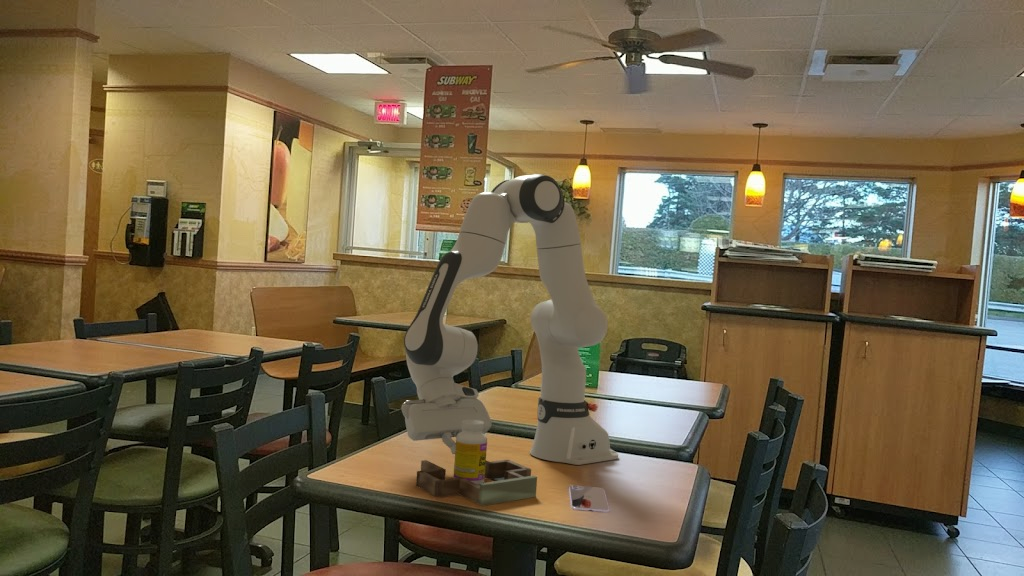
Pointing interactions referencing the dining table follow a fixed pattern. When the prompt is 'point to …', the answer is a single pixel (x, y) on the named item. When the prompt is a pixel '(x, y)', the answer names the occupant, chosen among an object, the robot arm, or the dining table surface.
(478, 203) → the robot arm
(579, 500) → the mobile phone
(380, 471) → the dining table surface
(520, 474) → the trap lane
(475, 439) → the supplement bottle
